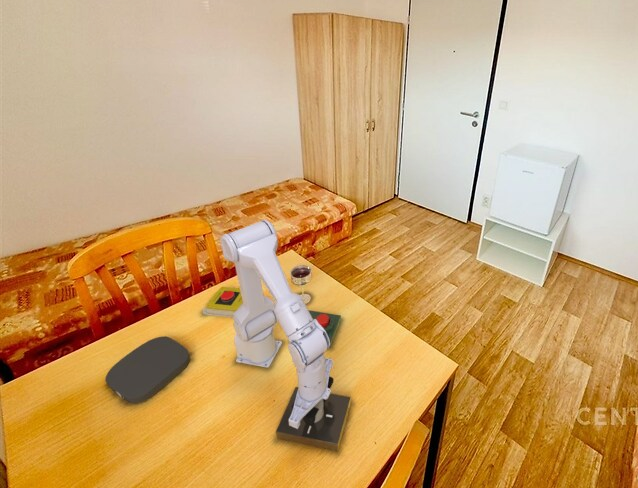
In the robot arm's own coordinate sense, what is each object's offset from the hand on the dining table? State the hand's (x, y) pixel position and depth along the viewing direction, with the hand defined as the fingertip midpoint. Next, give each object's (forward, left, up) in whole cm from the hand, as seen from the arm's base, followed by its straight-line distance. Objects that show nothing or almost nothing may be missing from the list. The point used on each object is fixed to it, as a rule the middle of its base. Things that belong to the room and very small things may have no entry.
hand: (314, 412), depth 73 cm
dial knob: (0, 0, 0) cm, 0 cm away
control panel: (0, 0, -3) cm, 3 cm away
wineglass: (-18, +35, -4) cm, 40 cm away
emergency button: (-39, +28, -4) cm, 48 cm away
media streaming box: (-46, +4, -4) cm, 46 cm away
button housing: (-9, +24, -3) cm, 26 cm away
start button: (-7, +24, 0) cm, 25 cm away
